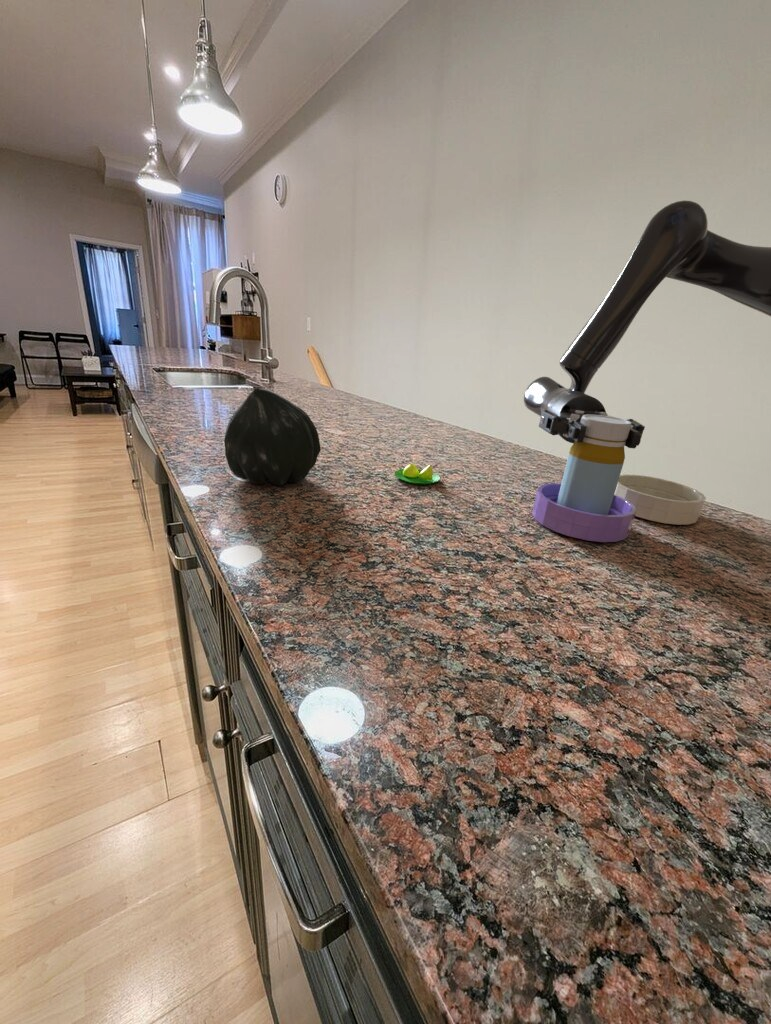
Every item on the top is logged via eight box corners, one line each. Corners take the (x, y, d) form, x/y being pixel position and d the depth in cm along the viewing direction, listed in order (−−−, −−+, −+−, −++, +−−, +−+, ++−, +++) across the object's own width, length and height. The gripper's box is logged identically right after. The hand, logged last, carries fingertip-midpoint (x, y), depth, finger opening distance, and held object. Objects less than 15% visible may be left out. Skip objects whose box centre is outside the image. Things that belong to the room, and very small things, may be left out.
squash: (333, 436, 79) (274, 366, 72) (339, 464, 66) (268, 381, 59) (272, 484, 81) (209, 420, 74) (266, 521, 68) (189, 447, 61)
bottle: (613, 526, 65) (645, 423, 59) (585, 534, 61) (616, 426, 55) (571, 509, 70) (597, 413, 64) (543, 516, 66) (568, 414, 60)
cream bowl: (619, 490, 83) (625, 470, 81) (702, 513, 75) (711, 490, 73) (596, 506, 73) (603, 483, 72) (688, 534, 65) (698, 509, 64)
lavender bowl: (552, 500, 74) (558, 477, 72) (638, 527, 66) (646, 502, 65) (516, 520, 65) (522, 494, 63) (611, 553, 57) (620, 525, 55)
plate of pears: (441, 476, 81) (443, 461, 80) (436, 489, 74) (438, 473, 73) (399, 469, 83) (400, 454, 82) (389, 482, 75) (391, 466, 74)
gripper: (534, 387, 73) (559, 402, 57) (624, 397, 72) (675, 415, 56) (524, 433, 76) (546, 459, 60) (611, 442, 75) (656, 471, 59)
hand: (608, 437), depth 58 cm, fingers closed on bottle, 6 cm apart
